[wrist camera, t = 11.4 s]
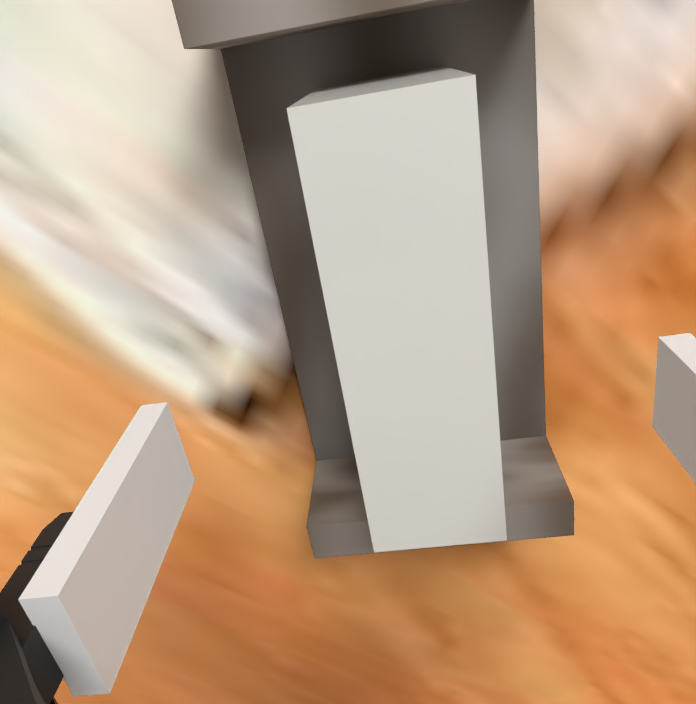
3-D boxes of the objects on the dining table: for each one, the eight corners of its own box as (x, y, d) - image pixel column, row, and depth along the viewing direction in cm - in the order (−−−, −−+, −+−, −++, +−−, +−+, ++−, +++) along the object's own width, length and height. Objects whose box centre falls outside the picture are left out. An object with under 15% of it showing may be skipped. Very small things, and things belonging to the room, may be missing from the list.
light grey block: (375, 422, 31) (373, 552, 23) (317, 88, 24) (286, 108, 16) (473, 411, 31) (506, 540, 23) (443, 65, 24) (475, 74, 16)
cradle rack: (325, 476, 34) (315, 558, 29) (214, -8, 24) (165, -24, 18) (541, 453, 33) (573, 535, 27) (524, -71, 23) (571, -109, 17)
